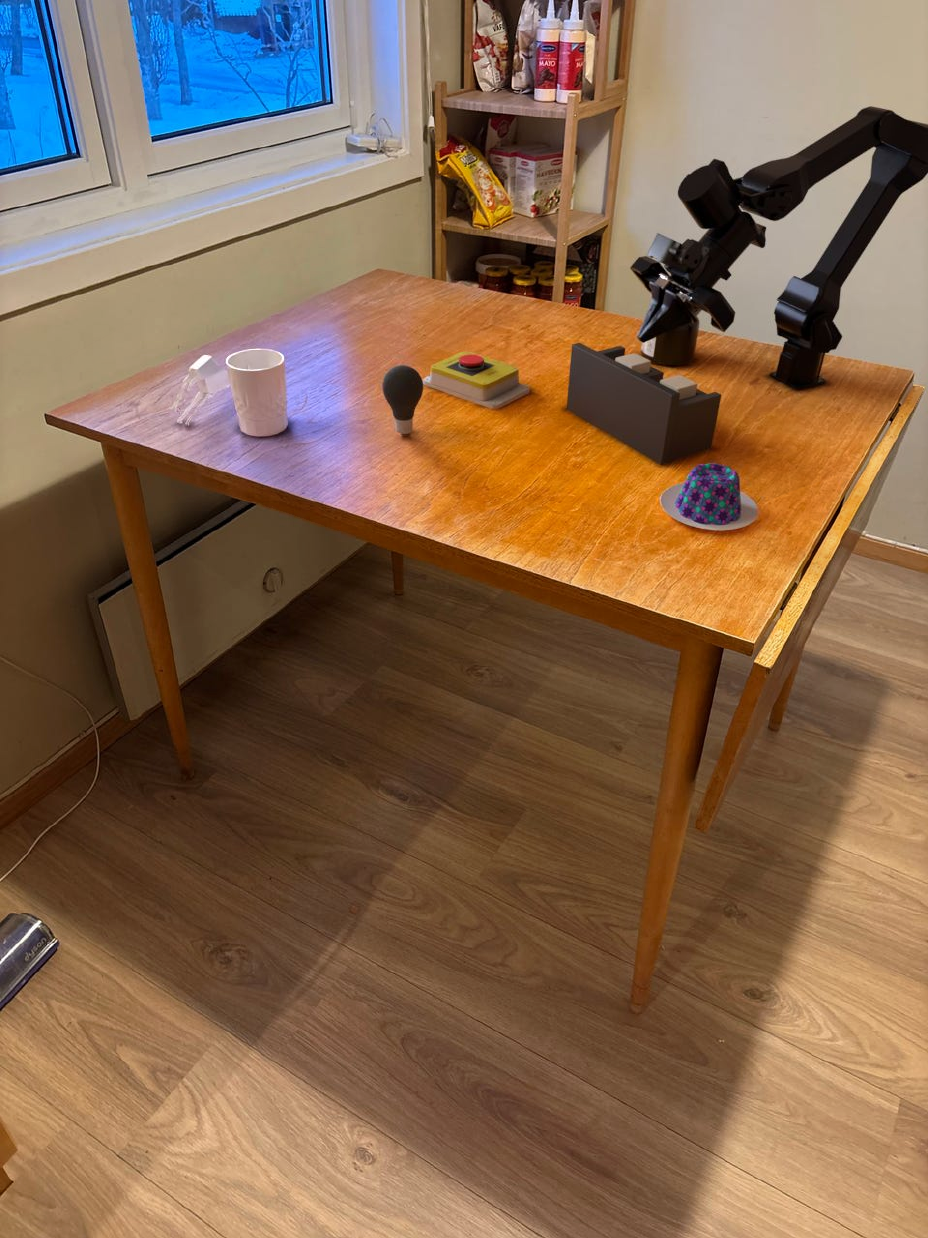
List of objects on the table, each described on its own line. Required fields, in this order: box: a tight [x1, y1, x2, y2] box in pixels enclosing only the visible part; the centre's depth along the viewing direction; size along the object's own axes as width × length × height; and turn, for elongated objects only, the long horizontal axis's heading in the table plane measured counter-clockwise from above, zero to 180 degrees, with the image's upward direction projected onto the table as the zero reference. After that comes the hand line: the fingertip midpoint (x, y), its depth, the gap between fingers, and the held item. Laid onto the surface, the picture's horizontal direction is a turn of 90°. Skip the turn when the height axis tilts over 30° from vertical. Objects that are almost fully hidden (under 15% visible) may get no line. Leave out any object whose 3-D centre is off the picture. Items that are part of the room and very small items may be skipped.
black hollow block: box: [565, 342, 722, 466], centre depth 130 cm, size 9×21×10 cm, turn 33°
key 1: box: [615, 352, 652, 374], centre depth 133 cm, size 4×4×2 cm
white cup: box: [225, 348, 289, 437], centre depth 129 cm, size 8×8×10 cm
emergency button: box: [422, 350, 531, 410], centre depth 143 cm, size 9×4×15 cm
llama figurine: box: [169, 354, 231, 426], centre depth 136 cm, size 2×11×18 cm
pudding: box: [659, 462, 759, 531], centre depth 113 cm, size 12×12×5 cm
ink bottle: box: [640, 288, 700, 367], centre depth 152 cm, size 10×9×12 cm
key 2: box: [660, 374, 698, 400], centre depth 127 cm, size 4×4×2 cm
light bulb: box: [381, 364, 424, 437], centre depth 128 cm, size 6×6×10 cm
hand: (639, 340), depth 131 cm, fingers closed
